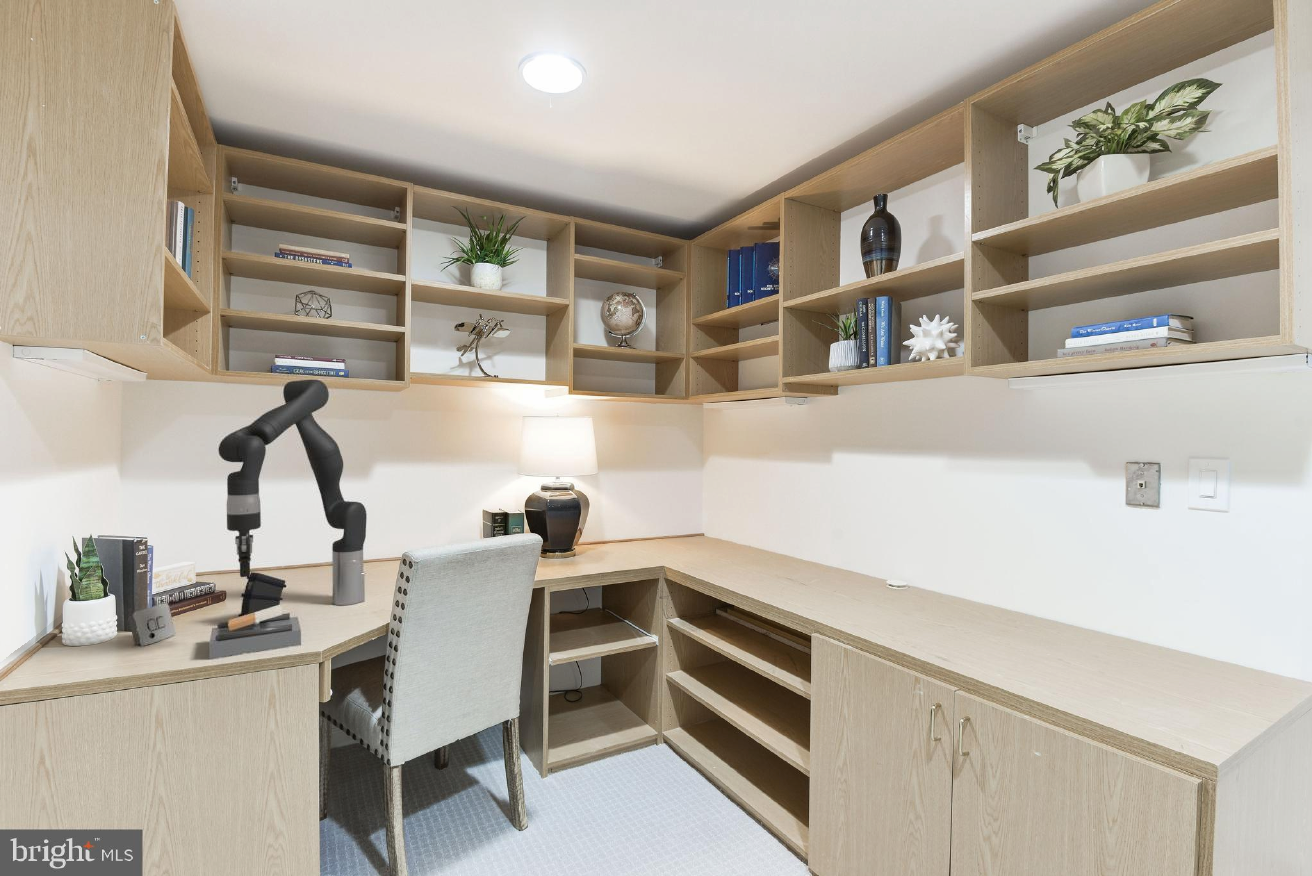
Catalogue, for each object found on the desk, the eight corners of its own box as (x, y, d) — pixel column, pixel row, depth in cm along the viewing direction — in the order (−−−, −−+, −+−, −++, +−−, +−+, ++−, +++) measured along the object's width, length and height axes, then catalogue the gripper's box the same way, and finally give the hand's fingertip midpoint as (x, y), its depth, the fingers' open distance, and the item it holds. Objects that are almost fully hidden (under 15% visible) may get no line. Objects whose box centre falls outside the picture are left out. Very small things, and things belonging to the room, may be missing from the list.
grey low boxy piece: (297, 630, 182) (297, 611, 182) (301, 644, 170) (300, 624, 170) (212, 643, 171) (212, 622, 171) (209, 659, 159) (209, 637, 159)
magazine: (228, 624, 182) (248, 571, 188) (265, 631, 194) (282, 581, 200) (239, 625, 181) (258, 572, 187) (274, 632, 193) (292, 582, 199)
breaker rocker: (281, 611, 176) (280, 604, 176) (282, 616, 171) (280, 609, 171) (230, 627, 170) (228, 620, 170) (230, 633, 165) (228, 625, 165)
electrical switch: (143, 647, 168) (140, 612, 168) (127, 647, 169) (124, 612, 169) (176, 635, 177) (173, 602, 177) (161, 636, 178) (158, 603, 178)
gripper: (260, 513, 165) (261, 579, 166) (260, 507, 176) (261, 569, 177) (225, 515, 161) (227, 583, 162) (227, 509, 172) (229, 572, 173)
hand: (245, 576), depth 169 cm, fingers closed
